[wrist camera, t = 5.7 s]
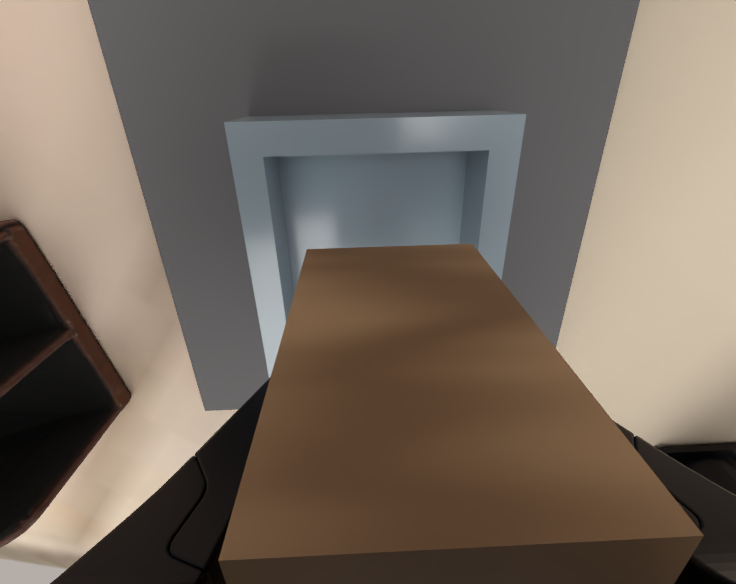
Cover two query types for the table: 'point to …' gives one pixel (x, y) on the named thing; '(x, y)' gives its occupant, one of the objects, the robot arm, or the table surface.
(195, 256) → the coaster
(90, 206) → the table surface
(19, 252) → the letter holder
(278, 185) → the tray
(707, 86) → the table surface
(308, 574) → the short wooden block
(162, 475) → the table surface
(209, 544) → the robot arm
